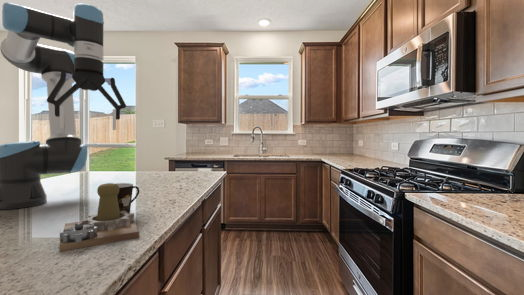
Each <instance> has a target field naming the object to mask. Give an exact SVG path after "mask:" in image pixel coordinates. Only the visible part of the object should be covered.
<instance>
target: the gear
mask: <svg viewBox="0 0 524 295" xmlns="http://www.w3.org/2000/svg"><path fill="white" fill-rule="evenodd" d="M63 230H64V231H62V230H61V231H59V242H60V241H63V243H69V242H76V243H77V242H82V241H83V240H87V239H92V238H94V236H95V235H97V226H96V227H94V225H83V223H76V224H75V226H73V227H70V228H66V229H64V228H63Z"/></svg>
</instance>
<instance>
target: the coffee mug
mask: <svg viewBox="0 0 524 295" xmlns="http://www.w3.org/2000/svg"><path fill="white" fill-rule="evenodd" d="M116 184H117V185H118V186H119V193H118V195H117V198H118V204H119V211H120V212H121V211H127V213H128V214H129V213H131V206H132V204H133V202H134V201H135V200H136V199H137V197H138V196H139V194H140V188H139V187H138V186H136V185H134V184H133V183H127V182H124V183H123V182H117V183H116ZM134 189H136V192H137V193H136V194H135V196H134V197H133V190H134ZM132 197H133V198H132Z"/></svg>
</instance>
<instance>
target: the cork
mask: <svg viewBox="0 0 524 295" xmlns="http://www.w3.org/2000/svg"><path fill="white" fill-rule="evenodd" d="M96 190H97V192H96V193H97V194H98V195H97V196H99V202H98V208H97V214H96V215H97V221H109V220H115V219H119V218H121V217H120V211H119V204H118V198H117V195H118V193H119V186H118V185H117V183H114V182H113V183H112V182H111V183H110V182H109V183H107V182H106V183H103V184H100V185H99V186H97V189H96Z"/></svg>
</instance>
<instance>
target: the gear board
mask: <svg viewBox="0 0 524 295" xmlns="http://www.w3.org/2000/svg"><path fill="white" fill-rule="evenodd" d="M120 217H121V218H119V219H115V220H109V221H97V214H90V215H88V217H87V218H86V219H81V221H75V222H68V223H65V224H64V227H63V231H64V229H66V228H70V227H73V226H75V224H76V223H83V225H94V227H96V226H97V235H95V236H94V238H92V239H87V240H83V241H82V242H77V243H76V242H69V243H63V241H60V240H59V244H58V245H59V246H58V248H59V249H58V250H59V252H63V251H70V250H75V249H81V248H86V247H92V246H98V245H102V244H108V243H116V242H120V241H127V240H131V239H137V238H138V239H139V237H140V230H139V229H138V227H137V225H136V222H135V213H134V212H130V213H129V214H128V213H127V211H121V212H120Z"/></svg>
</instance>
